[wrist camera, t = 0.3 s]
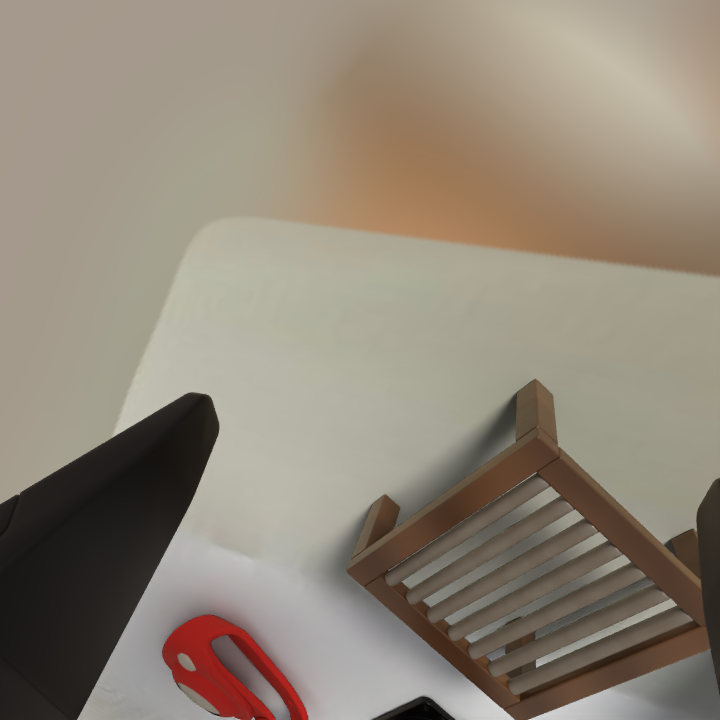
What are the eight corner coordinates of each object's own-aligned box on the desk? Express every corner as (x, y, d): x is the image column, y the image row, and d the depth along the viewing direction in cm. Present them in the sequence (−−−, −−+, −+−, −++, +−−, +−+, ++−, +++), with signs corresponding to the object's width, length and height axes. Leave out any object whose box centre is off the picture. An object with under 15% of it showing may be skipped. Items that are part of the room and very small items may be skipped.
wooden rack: (519, 636, 32) (519, 724, 27) (371, 504, 31) (345, 571, 26) (709, 544, 26) (749, 635, 21) (535, 377, 25) (538, 435, 20)
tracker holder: (175, 700, 43) (124, 640, 37) (211, 648, 46) (170, 584, 40) (301, 781, 37) (266, 726, 31) (332, 716, 40) (306, 654, 34)
